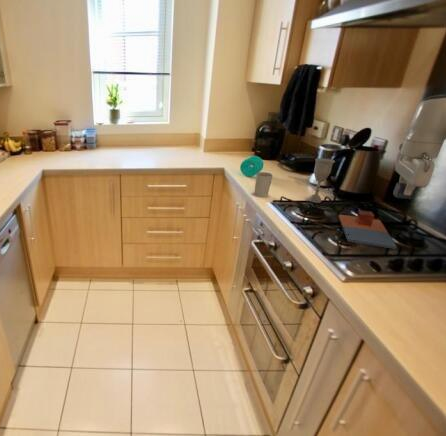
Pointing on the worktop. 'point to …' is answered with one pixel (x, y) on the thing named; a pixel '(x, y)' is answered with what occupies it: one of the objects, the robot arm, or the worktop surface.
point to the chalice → (321, 175)
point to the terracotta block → (365, 218)
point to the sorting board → (366, 232)
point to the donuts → (247, 167)
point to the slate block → (399, 191)
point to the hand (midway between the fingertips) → (403, 191)
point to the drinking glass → (262, 184)
